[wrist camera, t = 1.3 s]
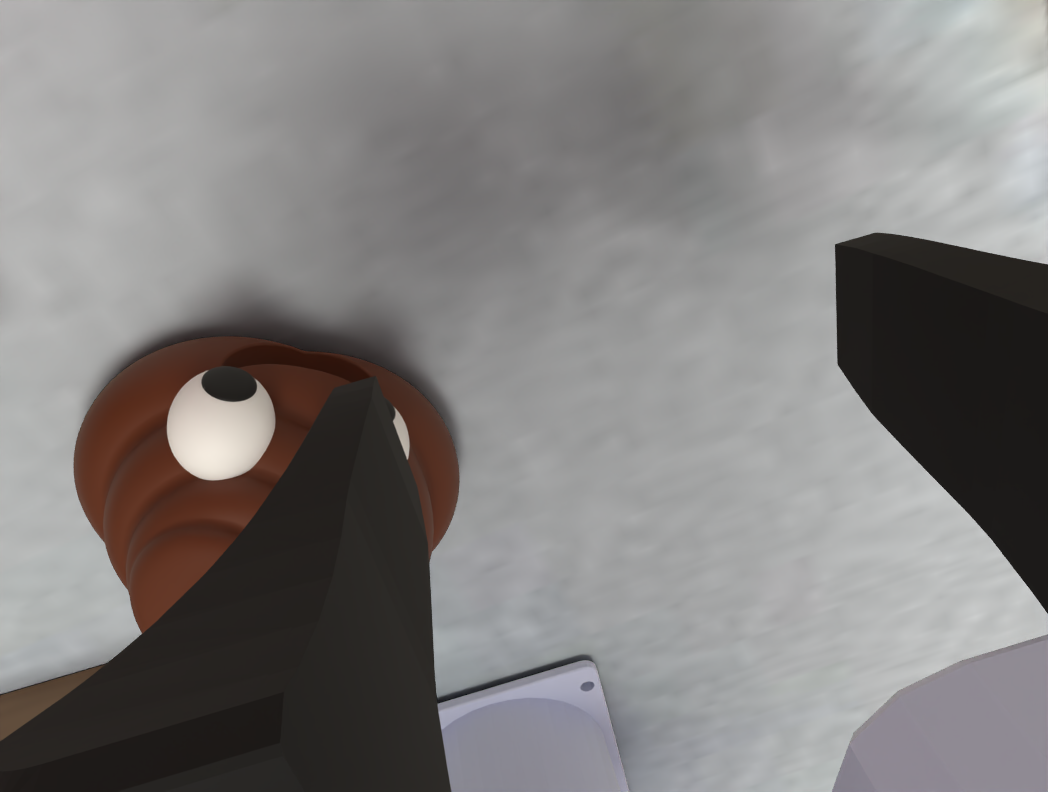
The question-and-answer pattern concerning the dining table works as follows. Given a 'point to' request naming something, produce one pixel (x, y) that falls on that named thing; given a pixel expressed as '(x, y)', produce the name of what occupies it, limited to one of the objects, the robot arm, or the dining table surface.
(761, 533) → the dining table surface
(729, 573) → the dining table surface
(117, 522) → the poop emoji
